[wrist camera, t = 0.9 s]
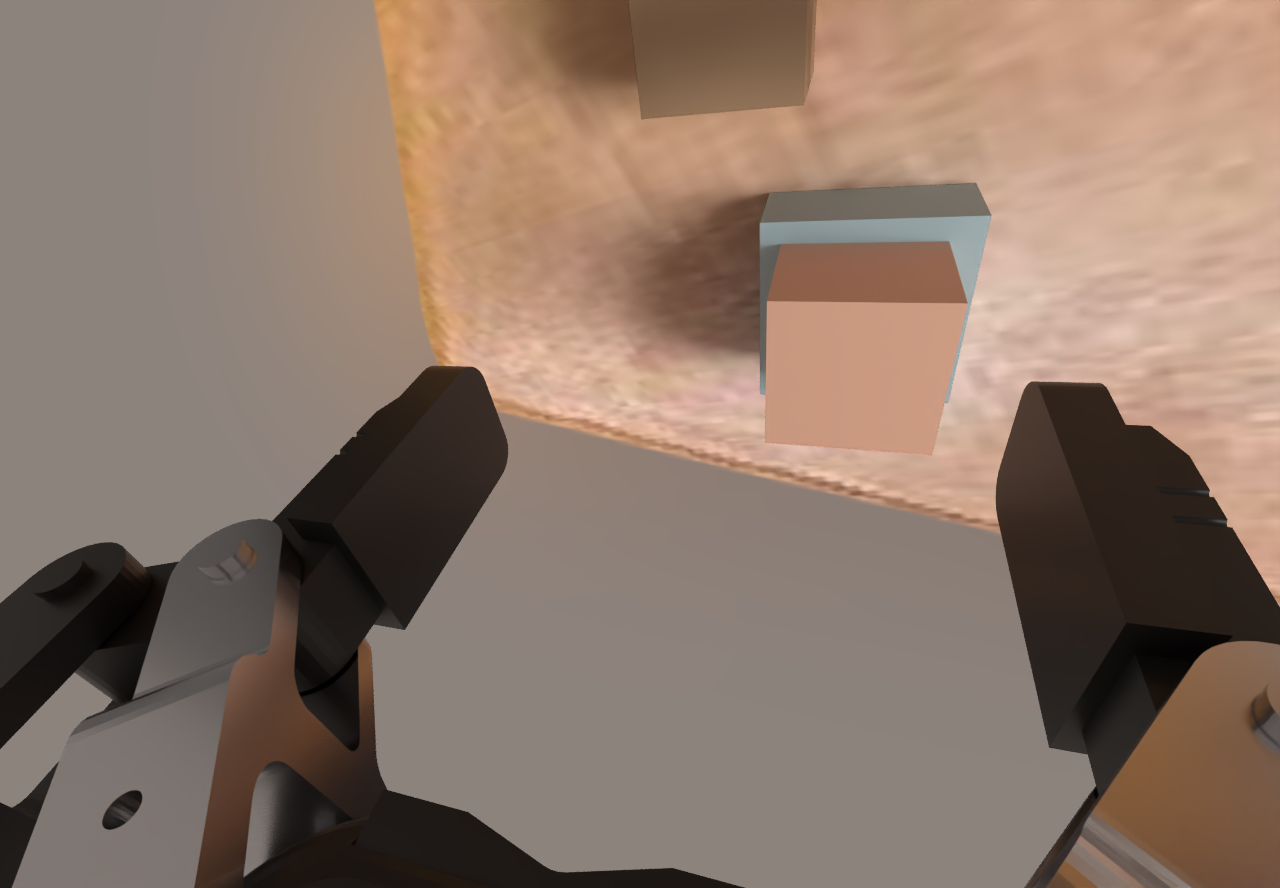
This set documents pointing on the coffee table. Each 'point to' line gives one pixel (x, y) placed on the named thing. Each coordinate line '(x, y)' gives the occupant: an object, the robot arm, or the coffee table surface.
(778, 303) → the tower top
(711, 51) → the walnut block
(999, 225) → the coffee table surface
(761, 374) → the tower base
